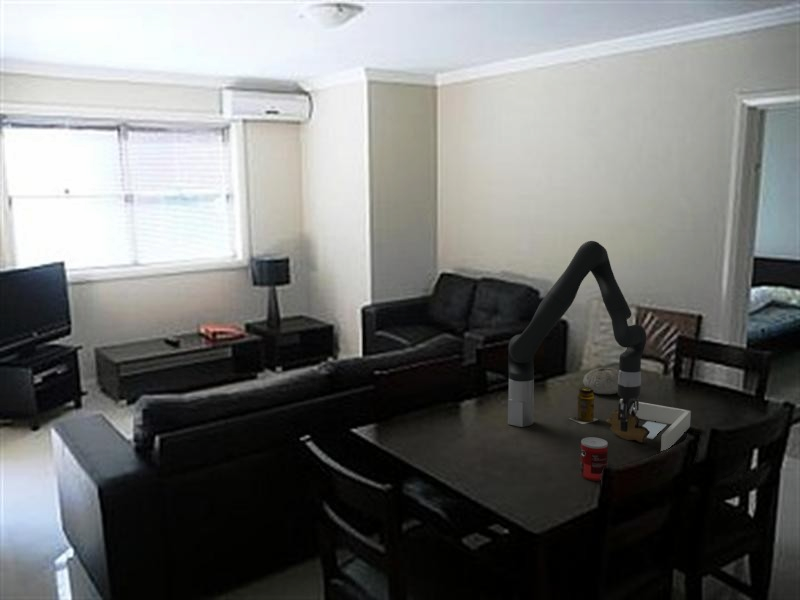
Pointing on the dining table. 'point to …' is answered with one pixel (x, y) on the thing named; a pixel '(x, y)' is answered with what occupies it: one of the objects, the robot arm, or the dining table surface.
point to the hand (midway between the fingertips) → (628, 427)
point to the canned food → (593, 457)
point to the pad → (653, 428)
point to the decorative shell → (602, 380)
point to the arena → (666, 421)
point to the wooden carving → (633, 428)
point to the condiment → (585, 406)
